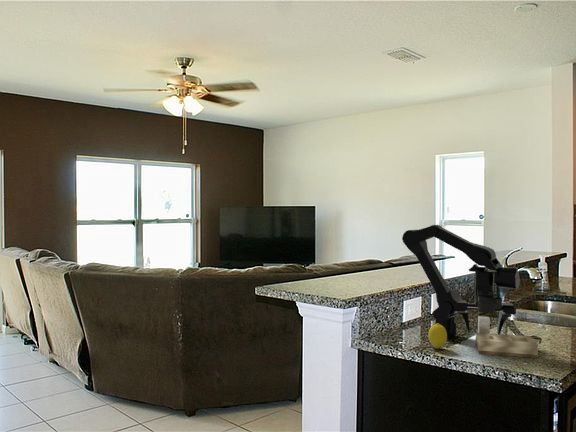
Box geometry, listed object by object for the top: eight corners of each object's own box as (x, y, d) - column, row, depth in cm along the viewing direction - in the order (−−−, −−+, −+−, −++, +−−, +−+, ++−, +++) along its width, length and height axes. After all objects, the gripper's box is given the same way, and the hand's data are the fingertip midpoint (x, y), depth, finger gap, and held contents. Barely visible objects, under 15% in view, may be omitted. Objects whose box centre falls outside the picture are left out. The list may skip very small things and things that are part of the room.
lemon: (434, 351, 152) (435, 325, 152) (424, 347, 157) (425, 321, 157) (450, 350, 153) (450, 324, 153) (440, 345, 159) (440, 320, 158)
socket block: (479, 353, 150) (479, 340, 150) (475, 345, 160) (475, 332, 160) (537, 358, 146) (537, 344, 146) (530, 349, 156) (530, 336, 156)
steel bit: (478, 342, 163) (479, 318, 163) (477, 340, 166) (478, 316, 166) (489, 343, 162) (489, 318, 162) (488, 341, 165) (488, 316, 165)
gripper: (456, 288, 158) (455, 337, 159) (520, 291, 154) (519, 341, 154) (453, 283, 169) (452, 329, 169) (513, 286, 164) (512, 333, 165)
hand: (483, 333), depth 164 cm, fingers open, 9 cm apart
